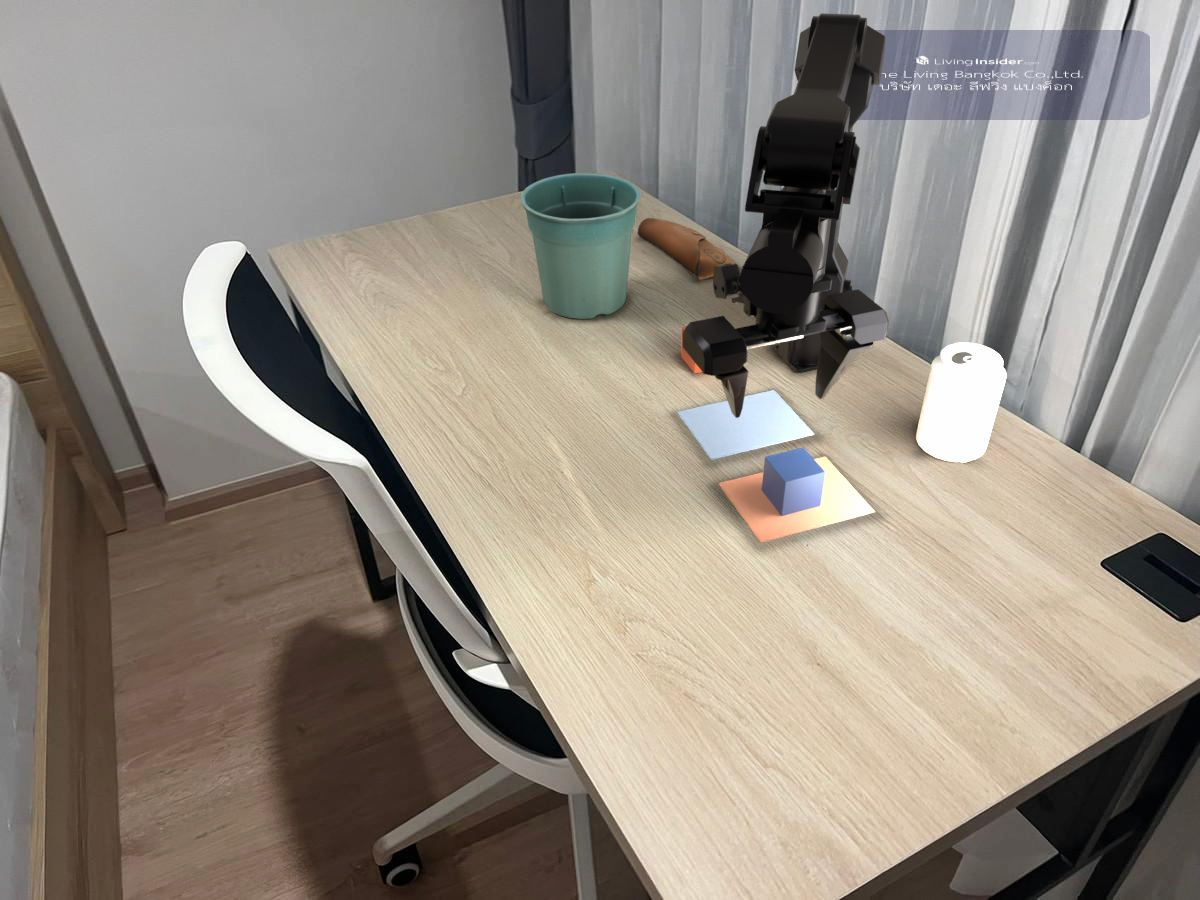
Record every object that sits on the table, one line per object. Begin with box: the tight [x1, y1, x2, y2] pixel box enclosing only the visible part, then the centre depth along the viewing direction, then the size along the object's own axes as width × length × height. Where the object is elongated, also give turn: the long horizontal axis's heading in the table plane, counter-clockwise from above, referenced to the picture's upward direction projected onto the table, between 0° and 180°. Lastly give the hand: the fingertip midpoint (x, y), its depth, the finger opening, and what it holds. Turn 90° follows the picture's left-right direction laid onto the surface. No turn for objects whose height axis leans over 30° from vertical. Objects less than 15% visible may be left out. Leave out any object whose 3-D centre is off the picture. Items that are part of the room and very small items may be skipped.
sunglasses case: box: [637, 217, 736, 281], centre depth 142 cm, size 18×7×7 cm
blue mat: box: [676, 389, 816, 461], centre depth 105 cm, size 13×10×1 cm
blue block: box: [762, 447, 825, 516], centre depth 93 cm, size 4×4×4 cm
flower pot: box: [519, 172, 642, 320], centre depth 127 cm, size 16×16×16 cm
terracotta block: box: [680, 325, 703, 374], centre depth 116 cm, size 4×4×4 cm
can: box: [915, 342, 1007, 464], centre depth 97 cm, size 8×8×12 cm
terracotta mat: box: [717, 455, 876, 544], centre depth 94 cm, size 13×10×1 cm
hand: (777, 405), depth 89 cm, fingers open, 9 cm apart
